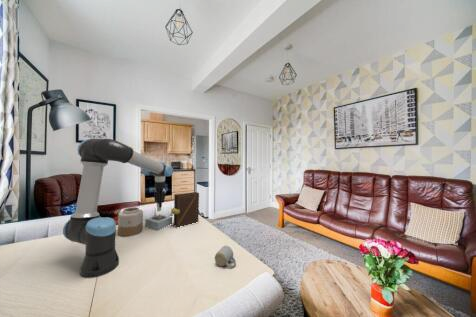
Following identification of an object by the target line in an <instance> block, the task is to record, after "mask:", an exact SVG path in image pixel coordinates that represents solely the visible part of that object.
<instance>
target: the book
mask: <svg viewBox="0 0 476 317" xmlns="http://www.w3.org/2000/svg"><path fill="white" fill-rule="evenodd" d="M199 205H200V193H199V192H197V191H194V192H185V193H177V194H174V198H173V208H171V214H172V215H173V226H174V225H176V226H175V228H176V227H179V228H181V227H180V226H183V227H185V226H184V225H188V224H192V223H196V222H198V223H199V210H200V209H199V207H200V206H199ZM196 224H197V223H196ZM192 225H193V224H192ZM188 226H189V225H188Z"/></svg>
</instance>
